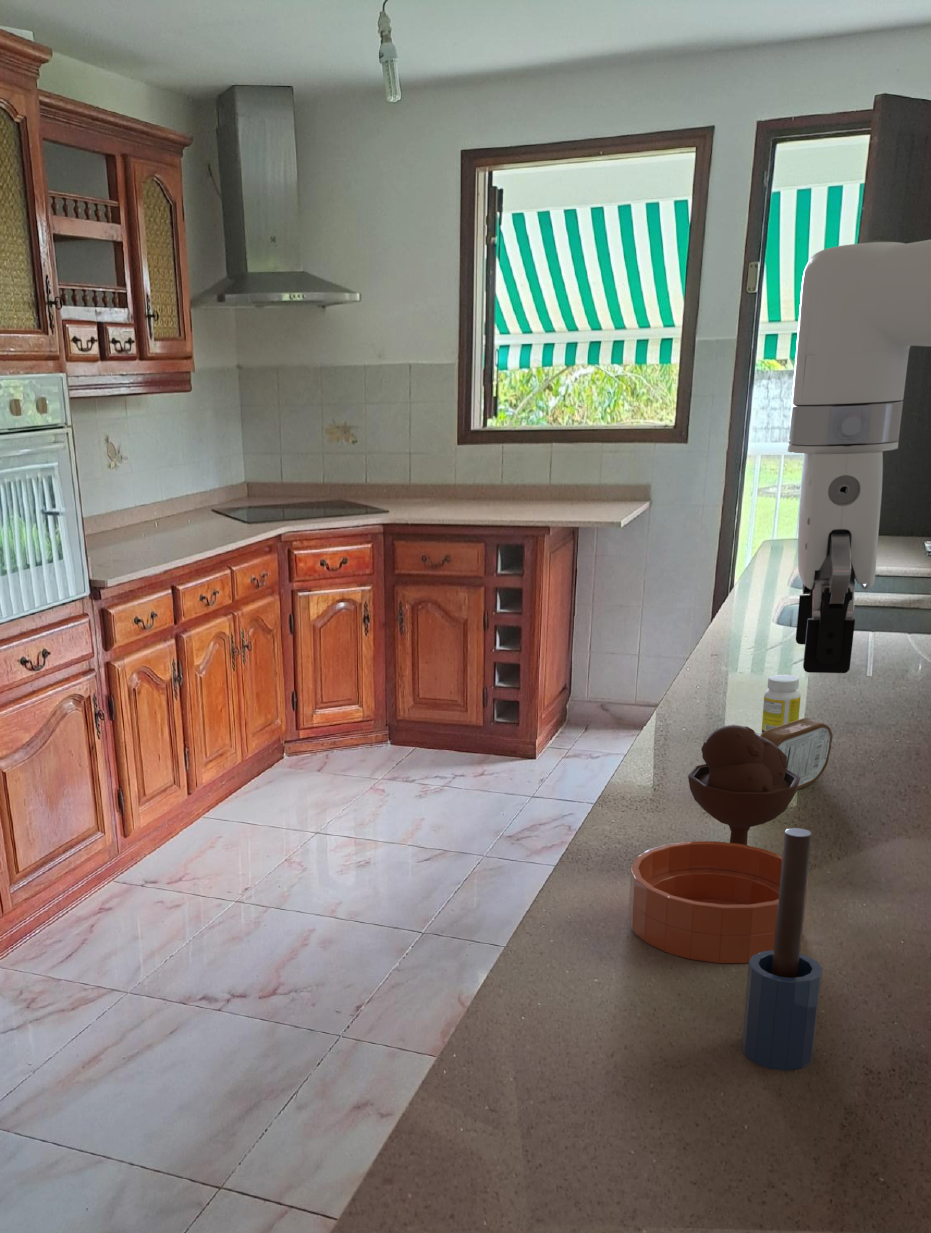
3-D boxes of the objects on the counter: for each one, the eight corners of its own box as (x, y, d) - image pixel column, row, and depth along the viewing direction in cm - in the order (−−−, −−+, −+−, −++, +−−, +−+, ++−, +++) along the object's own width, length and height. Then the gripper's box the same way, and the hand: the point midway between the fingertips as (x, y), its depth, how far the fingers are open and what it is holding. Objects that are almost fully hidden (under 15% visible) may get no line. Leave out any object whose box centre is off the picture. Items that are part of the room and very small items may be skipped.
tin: (810, 773, 149) (816, 710, 146) (833, 779, 146) (840, 714, 143) (739, 801, 141) (744, 735, 138) (761, 808, 138) (767, 740, 135)
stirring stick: (785, 1045, 89) (807, 827, 83) (792, 1058, 88) (815, 836, 81) (761, 1045, 89) (781, 827, 83) (767, 1058, 88) (788, 837, 81)
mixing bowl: (776, 896, 115) (781, 840, 113) (823, 969, 101) (830, 907, 99) (618, 897, 117) (620, 842, 115) (643, 969, 103) (646, 908, 101)
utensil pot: (800, 1041, 91) (810, 949, 88) (820, 1077, 86) (831, 982, 83) (734, 1040, 91) (742, 949, 89) (750, 1076, 87) (759, 982, 84)
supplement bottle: (791, 730, 166) (797, 673, 163) (801, 740, 162) (806, 681, 159) (757, 731, 167) (761, 674, 164) (765, 741, 162) (770, 682, 159)
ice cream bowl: (761, 889, 117) (774, 747, 112) (663, 861, 125) (671, 727, 120) (811, 858, 124) (825, 722, 118) (715, 833, 131) (724, 705, 126)
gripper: (917, 434, 77) (886, 685, 83) (884, 421, 92) (860, 635, 98) (796, 438, 79) (774, 683, 85) (783, 425, 94) (766, 633, 100)
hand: (820, 657), depth 92 cm, fingers open, 9 cm apart
